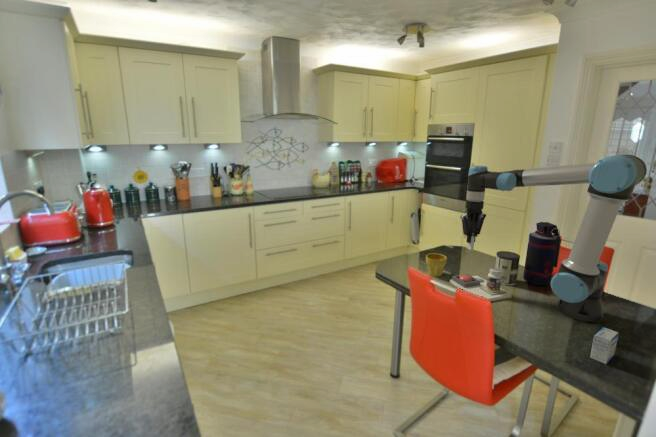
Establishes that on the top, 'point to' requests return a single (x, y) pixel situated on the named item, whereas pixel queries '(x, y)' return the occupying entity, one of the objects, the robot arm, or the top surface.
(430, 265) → the plant pot
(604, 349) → the medicine box
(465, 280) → the button
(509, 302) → the top surface
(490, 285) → the pill bottle
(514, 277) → the coffee can
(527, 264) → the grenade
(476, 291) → the white control panel
